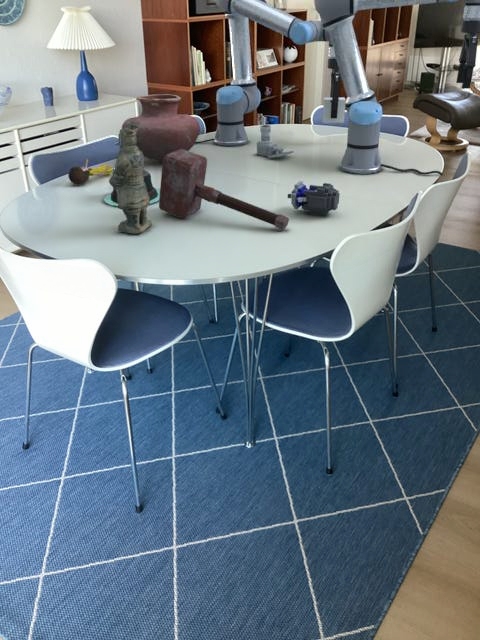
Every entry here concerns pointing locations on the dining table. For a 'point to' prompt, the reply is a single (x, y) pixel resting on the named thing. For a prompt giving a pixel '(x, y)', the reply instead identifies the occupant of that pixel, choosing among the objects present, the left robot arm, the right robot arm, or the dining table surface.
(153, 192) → the dark dome on dish
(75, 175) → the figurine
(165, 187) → the sledgehammer
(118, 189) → the statue
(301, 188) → the toy
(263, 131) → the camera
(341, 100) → the brick
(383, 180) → the dining table surface
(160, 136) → the clay pot
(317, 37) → the left robot arm
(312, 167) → the dining table surface
